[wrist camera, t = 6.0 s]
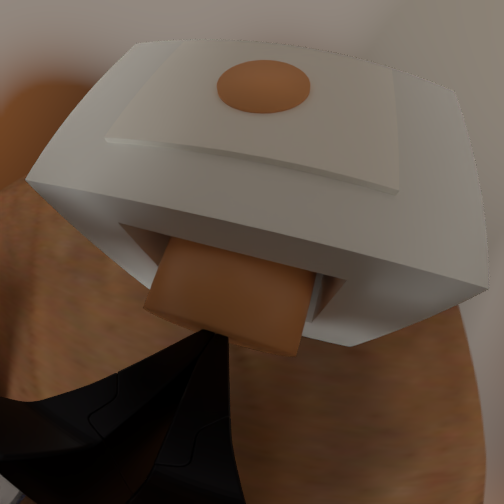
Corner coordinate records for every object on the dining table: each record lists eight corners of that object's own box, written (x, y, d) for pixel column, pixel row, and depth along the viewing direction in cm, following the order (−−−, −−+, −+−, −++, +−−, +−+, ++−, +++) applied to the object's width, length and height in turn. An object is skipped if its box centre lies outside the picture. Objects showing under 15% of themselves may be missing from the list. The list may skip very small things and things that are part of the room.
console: (350, 347, 16) (498, 284, 4) (154, 293, 18) (18, 174, 6) (369, 238, 18) (457, 84, 7) (193, 197, 20) (134, 37, 9)
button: (290, 359, 11) (305, 351, 6) (171, 324, 12) (115, 292, 7) (313, 266, 12) (337, 203, 8) (202, 238, 13) (170, 169, 9)
